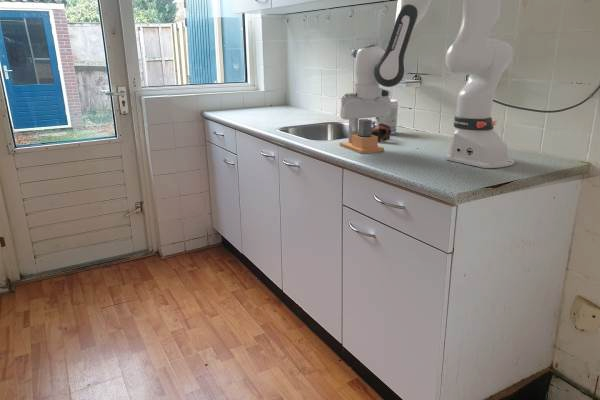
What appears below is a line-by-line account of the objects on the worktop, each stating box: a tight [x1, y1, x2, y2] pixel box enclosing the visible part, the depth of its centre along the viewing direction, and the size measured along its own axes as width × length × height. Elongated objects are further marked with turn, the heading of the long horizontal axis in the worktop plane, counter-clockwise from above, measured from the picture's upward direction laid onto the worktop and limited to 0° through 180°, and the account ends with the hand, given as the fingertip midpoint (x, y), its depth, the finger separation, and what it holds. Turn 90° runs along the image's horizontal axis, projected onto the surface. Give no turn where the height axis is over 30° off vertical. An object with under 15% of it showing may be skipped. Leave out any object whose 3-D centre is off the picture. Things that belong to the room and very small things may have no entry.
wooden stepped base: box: [339, 119, 385, 154], centre depth 170 cm, size 17×10×19 cm, turn 24°
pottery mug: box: [371, 123, 392, 143], centre depth 185 cm, size 12×10×8 cm
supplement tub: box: [374, 98, 399, 136], centre depth 200 cm, size 10×10×15 cm
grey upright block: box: [358, 118, 373, 138], centre depth 169 cm, size 4×4×10 cm
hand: (365, 129), depth 168 cm, fingers open, 8 cm apart
